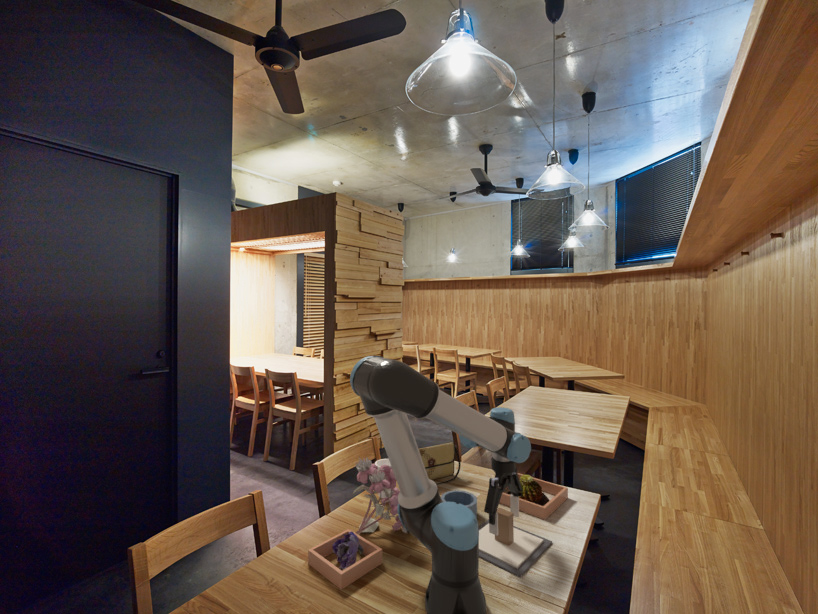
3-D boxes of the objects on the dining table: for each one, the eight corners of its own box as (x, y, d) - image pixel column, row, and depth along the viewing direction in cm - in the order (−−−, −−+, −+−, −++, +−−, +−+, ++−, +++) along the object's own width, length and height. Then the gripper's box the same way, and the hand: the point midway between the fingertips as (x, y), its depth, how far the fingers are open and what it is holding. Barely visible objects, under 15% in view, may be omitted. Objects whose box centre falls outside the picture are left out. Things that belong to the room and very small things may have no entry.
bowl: (463, 529, 130) (463, 511, 131) (434, 515, 139) (433, 499, 139) (483, 514, 140) (483, 497, 140) (455, 502, 149) (454, 487, 149)
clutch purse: (405, 493, 158) (405, 456, 158) (398, 486, 164) (398, 451, 164) (464, 478, 172) (464, 444, 172) (455, 472, 178) (455, 440, 178)
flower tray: (341, 589, 102) (341, 574, 102) (308, 563, 113) (308, 549, 113) (382, 562, 113) (382, 549, 113) (348, 541, 124) (348, 528, 124)
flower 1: (357, 525, 121) (340, 525, 113) (375, 545, 116) (359, 546, 108) (340, 551, 120) (321, 553, 112) (357, 573, 115) (339, 576, 107)
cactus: (496, 498, 153) (496, 473, 153) (521, 487, 163) (520, 464, 163) (533, 516, 139) (533, 489, 140) (558, 502, 149) (557, 477, 149)
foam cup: (394, 501, 150) (394, 468, 150) (372, 499, 152) (372, 466, 152) (400, 490, 159) (400, 459, 160) (378, 488, 161) (378, 457, 161)
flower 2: (375, 560, 111) (405, 473, 119) (327, 525, 126) (357, 449, 133) (412, 559, 126) (437, 481, 133) (366, 528, 140) (390, 459, 147)
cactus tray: (544, 519, 136) (544, 508, 136) (488, 498, 152) (488, 488, 152) (567, 497, 152) (567, 487, 153) (514, 481, 168) (514, 472, 168)
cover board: (517, 569, 109) (516, 534, 109) (464, 543, 121) (464, 513, 121) (543, 541, 122) (543, 511, 122) (493, 521, 134) (493, 493, 135)
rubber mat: (520, 577, 106) (520, 575, 106) (455, 545, 121) (455, 544, 121) (552, 542, 122) (552, 541, 122) (491, 518, 137) (491, 517, 137)
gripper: (493, 473, 111) (495, 547, 110) (531, 449, 129) (533, 512, 129) (471, 466, 116) (473, 537, 115) (511, 444, 134) (512, 505, 134)
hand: (504, 524), depth 122 cm, fingers open, 13 cm apart
